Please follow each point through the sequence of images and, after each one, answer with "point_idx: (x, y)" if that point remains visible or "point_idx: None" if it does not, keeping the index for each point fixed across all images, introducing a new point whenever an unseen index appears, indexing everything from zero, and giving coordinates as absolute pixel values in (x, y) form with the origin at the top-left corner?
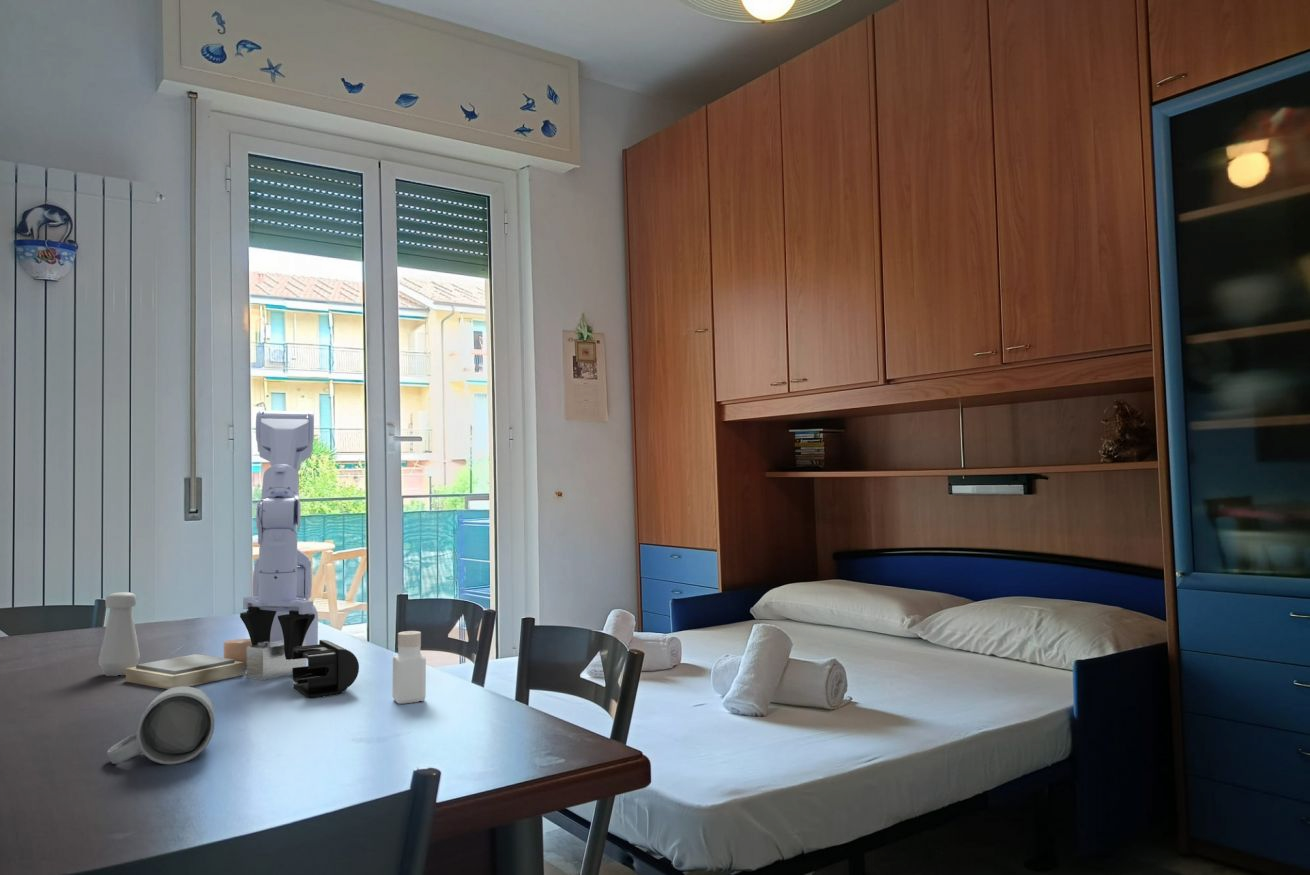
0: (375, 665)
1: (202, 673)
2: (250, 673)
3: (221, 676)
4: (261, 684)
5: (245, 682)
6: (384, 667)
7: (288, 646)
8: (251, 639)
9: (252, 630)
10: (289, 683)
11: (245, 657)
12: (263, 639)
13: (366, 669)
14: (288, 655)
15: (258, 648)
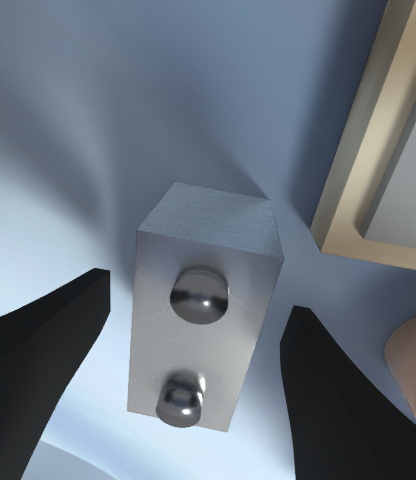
0: None
1: (403, 9)
2: (246, 201)
3: (346, 133)
4: (118, 118)
5: (205, 126)
6: None
7: (50, 293)
8: (340, 355)
9: (340, 395)
10: (44, 168)
11: (411, 354)
12: (298, 384)
13: None
14: (83, 275)
15: (177, 235)
